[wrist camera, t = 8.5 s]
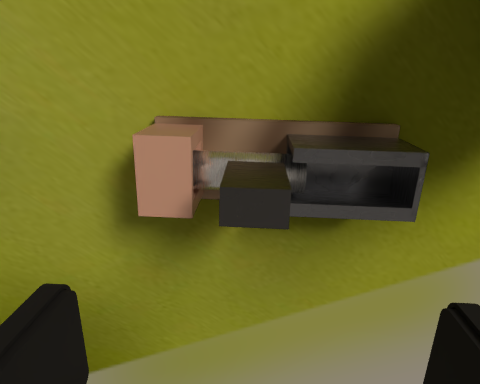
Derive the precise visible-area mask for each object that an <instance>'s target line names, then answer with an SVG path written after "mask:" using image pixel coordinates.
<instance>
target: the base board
mask: <svg viewBox="0 0 480 384" xmlns="http://www.w3.org/2000/svg"><path fill="white" fill-rule="evenodd" d="M155 123H159V124H187V125H203V151H229V152H256V153H282V154H286V146H287V134H300V135H328V136H356V137H384V138H398V136H399V130H400V125H397V124H383V123H353V122H324V121H295V120H266V119H236V118H207V117H178V116H156V117H155ZM201 199H220V190H205V189H203V195H202V198H201Z"/></svg>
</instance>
